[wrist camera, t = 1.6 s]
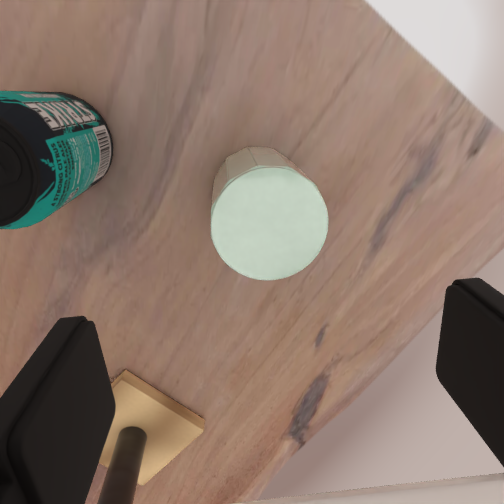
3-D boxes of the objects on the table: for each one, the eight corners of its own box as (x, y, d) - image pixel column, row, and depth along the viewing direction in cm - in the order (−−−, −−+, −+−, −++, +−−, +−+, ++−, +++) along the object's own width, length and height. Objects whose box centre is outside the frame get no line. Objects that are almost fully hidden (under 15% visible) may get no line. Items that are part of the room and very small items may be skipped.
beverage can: (0, 108, 28) (-145, 116, 17) (91, 79, 28) (3, 68, 17) (46, 199, 31) (-53, 257, 20) (130, 173, 30) (76, 217, 19)
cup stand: (65, 430, 40) (-1, 571, 28) (125, 369, 37) (80, 494, 26) (145, 473, 43) (115, 617, 31) (204, 419, 40) (197, 552, 29)
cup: (197, 172, 31) (188, 203, 22) (277, 130, 30) (299, 144, 21) (238, 245, 33) (244, 298, 25) (312, 208, 33) (345, 249, 24)
